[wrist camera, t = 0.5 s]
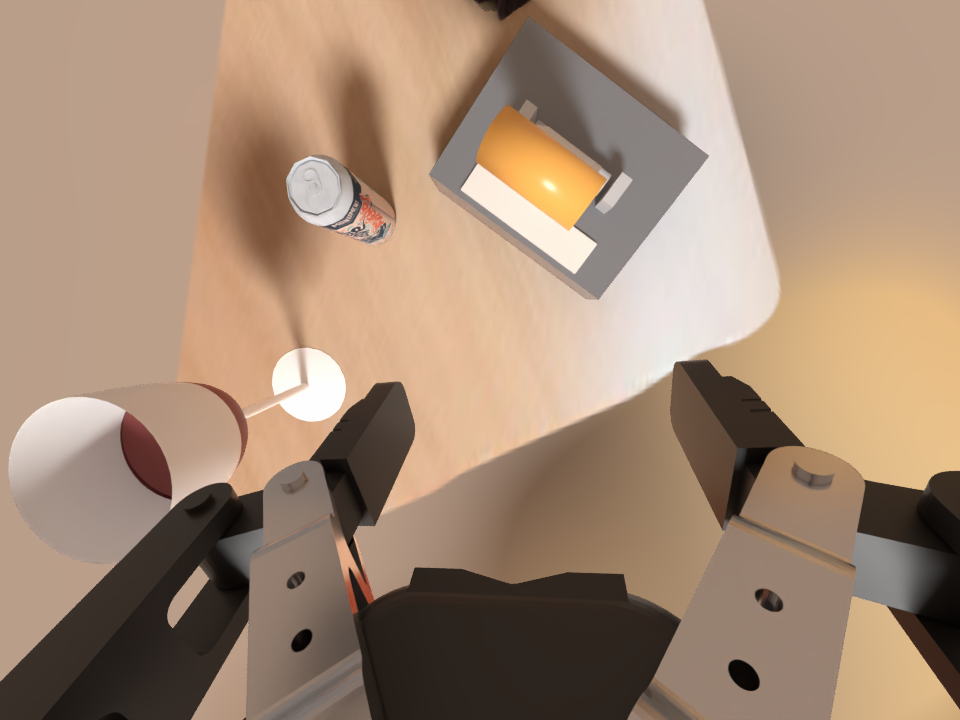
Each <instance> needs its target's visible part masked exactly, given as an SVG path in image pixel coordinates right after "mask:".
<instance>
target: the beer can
mask: <svg viewBox="0 0 960 720" xmlns="http://www.w3.org/2000/svg"><path fill="white" fill-rule="evenodd" d="M286 183H287V191H288V198H289V199H290V202H291V204H292V206H293V208H294V210H295V211H296V213H297V214H298V215H299V216H300V217H301V218H302V219H304V220H305V221H307V222H309V223H311V224H314V225H318V226H321V227H323V228H326V229H329V230H331V231H334V232H337V233H339V234H342V235H345V236H347V237H350V238H353V239H355V240H358V241H360V242H362V243H365V244H368V245H377V244H381V243H383V242H385V241H386V240H387V239H388V238H389V237H390V236H391V235H392V233H393V231H394V228H395V221H396V220H395V213H394V210H393V208H392V206H391V205H390V204H389V202H388V201H386V200H385V199H384V198H383V197H382V196H380V195H379V194H378V193H377V192H375V191H374V190H373V189H372V188H371V187H369V186H368V185H367V184H366V183H364V182H363V181H362V180H361V179H359V178H358V177H357V176H356V175H354V174H353V173H352V172H351V171H349V170H348V169H347V168H346V167H344V166H343V165H342V164H341V163H339V162H338V161H337V160H335V159H333V158H331V157H328V156H325V155H312V156H308V157H306V158H304V159H302V160H300V161H298V162H296V163H294V165H293V167H292V169H291V171H290V173H289V175H288V176H287V178H286Z"/></svg>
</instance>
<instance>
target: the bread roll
mask: <svg viewBox="0 0 960 720" xmlns="http://www.w3.org/2000/svg"><path fill="white" fill-rule="evenodd" d="M474 1H476V2H477V3H478V5H480V7H481V8H482V9H484V11H490V10H492V11H495V10H497V11H498V13H499V14H498V15H499V19H500V20H504V19H505V18H507V17H508V16H509V15H510V14H511V13H513V11H515V10H516V9H518V8H519V7H521V6H522V5H523V4H525V3H526V2H527V1H528V0H474Z"/></svg>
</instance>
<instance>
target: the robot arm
mask: <svg viewBox="0 0 960 720" xmlns="http://www.w3.org/2000/svg"><path fill="white" fill-rule="evenodd" d="M670 414H671V422H672V426H673V429H674V432H675V434H676V436H677V438H678V440H679V442H680V444H681V446H682V448H683V450H684V452H685V455H686V457H687V458H688V461H689V462H690V465H691V467H692V469H693V471H694V473H695V475H696V477H697V479H698V481H699V483H700V485H701V487H702V489H703V491H704V493H705V495H706V497H707V500H708V502H709V504H710V506H711V507H712V510H713V512H714V514H715V516H716V518H717V520H718V522H719V524H720V526H721V528H722V530H725V532H724V534H723V536H722V538H721V540H720V542H719V544H718V546H717V548H716V550H715V553H714V554H713V556H712V558H711V561H710V562H709V565H708V567H707V569H706V571H705V573H704V575H703V577H702V579H701V581H700V583H699V585H698V587H697V589H696V591H695V593H694V595H693V598H692V600H691V602H690V604H689V606H688V608H687V610H686V612H685V614H684V616H683V618H682V620H681V619H679V618H678V617H676V616H674V615H673V614H672V613H670V612H669V611H667V610H665V609H664V608H662V607H660V606H658V605H656V604H654V603H652V602H650V601H648V600H646V599H643V598H641V597H638V596H635V595H632V594H629V593H627V590H626V585H625V579H624V575H623V574H601V573H570V572H567V573H564V574H558V575H554V576H550V577H545V578H541V579H536V580H532V581H527V582H523V583H518V584H509V583H505V582H502V581H498V580H495V579H492V578H489V577H486V576H483V575H479V574H476V573H473V572H469V571H467V570H463V569H445V568H415V569H414V572H413V575H412V578H411V582H410V585H408V586H404V587H401V588H398V589H396V590H393V591H391V592H389V593H387V594H385V595H383V596H381V597H379V598H378V599H376V600H374V597H373V594H372V590H371V587H370V584H369V580H368V577H367V574H366V570H365V567H364V564H363V560H362V557H361V553H360V550H359V546H358V543H357V540H356V538H355V536H354V533H355V531H356V529H357V527H358V526H375V525H376V522H377V520H378V518H379V516H380V514H381V511H382V509H383V507H384V505H385V503H386V500H387V498H388V496H389V494H390V491H391V489H392V487H393V485H394V483H395V480H396V478H397V476H398V474H399V472H400V469H401V467H402V465H403V463H404V460H405V458H406V456H407V454H408V452H409V449H410V447H411V445H412V443H413V440H414V436H415V424H414V419H413V416H412V413H411V409H410V406H409V403H408V399H407V396H406V393H405V389H404V387H403V385H402V383H401V382H387V383H376V384H375V385H374V386H373V388H372V389H371V390H370V392H369V393H368V394H367V396H366V397H365V398H364V399H361V400H360V401H359V402H357V403H356V404H355V405H353V406H352V407H351V408H349V409H348V410H347V412H346V413H345V414H344V416H343V417H342V418H341V419H340V422H338V423H337V425H336V426H335V427H334V429H333V431H331V433H330V434H329V435H328V436H327V438H326V439H325V440H324V442H323V443H322V444H321V446H320V447H319V448H318V449H317V451H316V452H315V453H314V455H313V456H312V457H311V459H310V460H309V461H302V462H298V463H295V464H293V465H290V466H288V467H286V468H285V469H283V470H281V471H280V472H278V473H277V474H276V475H275V476H273V477H272V478H271V479H270V481H269V482H268V483H267V485H266V486H265V488H264V490H261V491H257V492H254V493H250V494H246V495H242V496H239V497H238V496H237V494H236V493H235V491H234V490H233V488H232V486H231V485H230V484H228V483H214V484H210V485H207V486H205V487H202V488H200V489H198V490H196V491H194V492H193V493H191V494H189V495H188V496H186V497H185V498H183V499H182V500H181V501H180V502H179V503H177V504H176V505H175V506H174V507H173V508H172V509H171V510H170V511H169V512H168V513H167V514H166V515H165V516H164V517H163V518H162V519H161V520H160V521H159V522H158V523H157V524H156V525H155V526H154V527H153V528H152V529H151V530H150V531H149V532H148V533H147V534H146V535H145V536H144V537H143V538H142V540H141V541H140V542H139V543H138V544H137V545H136V546H135V547H134V548H133V549H132V550H131V551H130V552H129V553H128V554H127V555H126V556H125V557H124V558H123V559H122V560H121V561H120V562H119V563H118V564H117V565H116V566H115V567H114V568H113V569H112V570H111V571H110V572H109V573H108V574H107V575H106V576H105V577H104V578H103V579H102V580H101V581H100V582H99V583H98V584H97V585H96V586H95V587H94V588H93V589H92V590H91V591H90V592H89V593H88V594H87V595H86V596H85V597H84V598H83V599H82V600H81V601H80V602H79V603H78V604H77V605H76V606H75V607H74V608H73V609H72V610H71V611H70V612H69V613H68V614H67V615H66V616H65V617H64V618H63V619H62V620H61V621H60V622H59V623H58V624H57V625H56V626H55V627H54V629H52V630H51V631H50V632H49V633H48V634H47V635H46V636H45V637H44V638H43V639H42V640H41V641H40V642H39V643H38V644H37V646H35V648H33V650H31V652H30V653H28V655H27V656H25V657H24V659H22V660H21V661H20V662H19V664H18V665H17V666H16V667H15V668H14V669H13V670H12V671H11V672H10V673H9V674H8V675H7V676H6V677H5V678H4V679H3V680H2V681H1V682H0V720H191V718H192V717H193V715H194V713H195V711H196V710H197V707H198V706H199V704H200V703H201V701H202V699H203V698H204V696H205V694H206V692H207V691H208V689H209V687H210V686H211V684H212V682H213V680H214V679H215V677H216V675H217V674H218V672H219V670H220V668H221V667H222V665H223V663H224V662H225V660H226V658H227V656H228V655H229V653H230V651H231V649H232V648H233V646H234V644H235V643H236V641H237V639H238V638H239V636H240V634H241V632H242V630H243V629H244V627H245V625H246V624H247V622H248V620H249V626H248V627H249V628H248V664H247V666H248V668H247V703H246V718H244V719H243V720H830V718H831V712H832V706H833V700H834V695H835V689H836V684H837V678H838V672H839V666H840V661H841V655H842V649H843V644H844V638H845V632H846V626H847V620H848V615H849V610H850V604H851V598H852V596H855V597H859V598H862V599H866V600H869V601H873V602H876V603H880V604H883V605H886V606H887V607H888V608H889V610H890V611H891V612H892V614H893V615H894V617H895V618H896V620H897V621H898V622H899V624H900V625H901V627H902V628H903V630H904V631H905V632H906V634H907V635H908V636H909V638H910V639H911V641H912V642H913V644H914V645H915V647H916V648H917V649H918V651H919V652H920V654H921V655H922V656H923V658H924V659H925V661H926V662H927V664H928V665H929V666H930V668H931V669H932V671H933V672H934V673H935V675H936V676H937V678H938V679H939V681H940V682H941V683H942V685H943V686H944V687H945V689H946V690H947V692H948V693H949V695H950V696H951V698H952V699H953V701H954V702H955V703H956V705H957V706H958V707H959V709H960V471H948V472H941V473H938V474H936V475H934V476H933V477H931V479H930V480H929V482H928V485H927V487H926V488H925V490H924V491H923V490H917V489H911V488H906V487H900V486H894V485H889V484H883V483H877V482H872V481H867V480H864V479H863V477H862V476H861V474H860V473H859V472H858V471H857V470H856V469H855V468H854V467H852V466H851V465H850V464H849V463H847V462H845V461H844V460H842V459H840V458H838V457H836V456H834V455H832V454H829V453H827V452H824V451H821V450H817V449H813V448H808V447H805V446H804V445H803V444H802V442H800V440H799V439H798V438H797V437H796V436H795V435H794V434H793V433H792V431H790V429H789V428H788V427H787V426H786V425H785V424H784V423H783V422H782V421H781V419H780V418H779V417H778V416H777V415H776V414H775V413H774V412H771V409H770V408H769V407H768V405H767V404H766V403H765V402H764V401H761V398H760V397H759V396H758V394H757V393H756V392H755V391H754V390H753V389H752V388H751V387H750V386H749V385H747V384H745V383H743V382H741V381H739V380H737V379H736V378H734V377H732V376H727V377H722V376H721V375H720V374H719V373H718V371H717V370H716V369H715V368H714V367H713V365H712V364H711V363H710V362H709V361H708V360H693V361H680V362H676V363H675V364H674V368H673V380H672V394H671V407H670ZM198 566H200V567H201V568H202V570H203V571H204V572H205V573H206V575H207V576H208V577H209V580H208V582H207V583H206V584H205V586H204V587H203V588H202V590H201V591H200V593H199V594H198V595H197V597H196V598H195V599H194V601H193V602H192V603H191V605H190V606H189V607H188V609H187V610H186V611H185V613H184V614H183V616H182V617H181V618H180V620H179V621H178V622H177V624H176V625H175V626H174V628H172V627H171V626H170V625H169V623H168V620H167V613H168V608H169V606H170V603H171V601H172V599H173V598H174V596H175V595H176V594H177V592H178V591H179V590H180V589H181V587H182V586H183V585H184V584H185V582H186V581H187V580H188V578H189V577H190V576H191V575H192V573H193V572H194V571H195V570H196V568H197V567H198Z"/></svg>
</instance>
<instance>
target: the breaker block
mask: <svg viewBox="0 0 960 720" xmlns="http://www.w3.org/2000/svg"><path fill="white" fill-rule="evenodd" d="M507 105H510V106H511V107H513V108H514V109H515V110H517V111H518V112H519V113H521V114H522V115H523V116H525V117H526V118H527V119H528V120H530V121H531V122H532V123H534V124H535V123H536V122H537V121H538V120H540V121H541V122H542V123H544V124H545V125H546V126H549V127H550V128H551V129H553V130H554V131H555V132H557V133H558V134H559V135H561V136H562V137H563V138H565V139H566V140H567V141H569V142H570V143H571V144H573V145H574V146H575V147H576V148H578V149H579V150H580V151H582V152H583V153H584V154H586V155H587V156H588V157H590V158H591V159H592V160H594V161H595V162H596V163H598V164H599V165H600V166H602V168H603V169H604V170H606V171H607V172H608V173H610V174H611V175H612V176H611V177H610V179H609V180H608V181H607V183H606V184H605V185H604V187H603V188H602V189H601V191H600V192H599V193H598V195H597V196H595V198H594V199H593V200H592V202H591V203H590V204H589V206H588V207H587V208H586V210H585V211H584V212H583V214H582V215H581V216H580V218H579V219H578V220H577V222H576V223H575V224H574V226H573V227H572V228H571V229H570V230H569V231H568V230H566V229H565V228H564V227H562V226H561V225H560V224H558V223H557V222H556V221H554V220H553V219H552V218H550V217H549V216H547V215H546V214H545V213H543V212H542V211H541V210H539V209H538V208H537V207H535V206H534V205H533V204H531V203H530V202H529V201H527V200H526V199H525V198H523V197H522V196H521V195H519V194H518V193H517V192H515V191H514V190H513V189H511V188H510V187H509V186H507V185H506V184H505V183H503V182H502V181H500V180H499V179H498V178H496V177H495V176H494V175H492V174H491V173H490V172H488V171H487V170H486V169H484V168H483V167H482V166H480V165H479V164H478V163H477V162H476V156H477V152H478V149H479V147H480V144H481V142H482V140H483V138H484V135H485V134H486V132H487V130H488V128H489V126H490V125H491V123H492V122H493V120H494V119H495V117H496V116H497V115H498V113H499V112H500V111H501V110H502V109H503V108H504V107H505V106H507ZM708 157H709V155H707V154H706V153H705V152H703V151H702V150H701V149H699V148H698V147H697V146H696V145H694V144H693V143H692V142H690V141H689V140H688V139H687V138H685V137H684V136H683V135H681V134H680V133H679V132H677V131H676V130H675V129H674V128H672V127H671V126H670V125H668V124H667V123H666V122H664V121H663V120H662V119H661V118H659V117H658V116H657V115H655V114H654V113H653V112H652V111H650V110H649V109H648V108H646V107H645V106H644V105H642V104H641V103H640V102H639V101H637V100H636V99H635V98H633V97H632V96H631V95H629V94H628V93H627V92H626V91H624V90H623V89H622V88H620V87H619V86H618V85H616V84H615V83H614V82H613V81H611V80H610V79H609V78H607V77H606V76H605V75H604V74H602V73H601V72H600V71H598V70H597V69H596V68H594V67H593V66H592V65H591V64H589V63H588V62H587V61H585V60H584V59H583V58H581V57H580V56H579V55H578V54H576V53H575V52H574V51H572V50H571V49H570V48H568V47H567V46H566V45H565V44H563V43H562V42H561V41H559V40H558V39H557V38H556V37H554V36H553V35H552V34H550V33H549V32H548V31H546V30H545V29H544V28H543V27H541V26H540V25H539V24H537V23H536V22H535V21H533V20H532V19H531V18H530V17H528V18H527V20H526V21H525V23H524V24H523V26H522V28H521V29H520V31H519V32H518V34H517V36H516V37H515V39H514V40H513V42H512V43H511V45H510V47H509V48H508V50H507V51H506V53H505V55H504V56H503V58H502V59H501V61H500V62H499V64H498V66H497V67H496V69H495V70H494V72H493V74H492V75H491V77H490V78H489V80H488V82H487V83H486V85H485V86H484V88H483V89H482V91H481V93H480V94H479V96H478V97H477V99H476V101H475V102H474V104H473V105H472V107H471V108H470V110H469V112H468V113H467V115H466V116H465V118H464V120H463V121H462V123H461V124H460V126H459V127H458V129H457V131H456V132H455V134H454V135H453V137H452V139H451V140H450V142H449V143H448V145H447V146H446V148H445V150H444V151H443V153H442V154H441V156H440V158H439V159H438V161H437V162H436V164H435V165H434V167H433V169H432V170H431V172H430V173H429V175H430V177H431V179H432V180H433V182H434V183H435V185H436V186H437V188H438V190H439V191H440V192H442V193H443V194H444V195H446V196H447V197H448V198H450V199H451V200H452V201H454V202H455V203H457V204H458V205H459V206H461V207H462V208H463V209H465V210H466V211H467V212H469V213H470V214H471V215H473V216H474V217H476V218H477V219H478V220H480V221H481V222H482V223H484V224H485V225H486V226H488V227H489V228H490V229H492V230H493V231H495V232H496V233H497V234H499V235H500V236H501V237H503V238H504V239H505V240H507V241H508V242H509V243H511V244H512V245H514V246H515V247H516V248H518V249H519V250H520V251H522V252H523V253H524V254H526V255H527V256H528V257H530V258H531V259H533V260H534V261H535V262H537V263H538V264H539V265H541V266H542V267H543V268H545V269H546V270H547V271H549V272H550V273H552V274H553V275H554V276H556V277H557V278H558V279H560V280H561V281H562V282H564V283H565V284H566V285H568V286H569V287H571V288H572V289H573V290H575V291H576V292H577V293H579V294H580V295H581V296H583V297H584V298H585V299H596V300H599V298H600V297H601V296H602V294H603V293H604V292H605V290H606V289H607V288H608V287H609V285H610V284H611V283H612V281H613V280H614V279H615V278H616V276H617V275H618V274H619V272H620V271H621V270H622V268H623V267H624V266H625V265H626V263H627V262H628V261H629V259H630V258H631V257H632V255H633V254H634V253H635V252H636V250H637V249H638V248H639V246H640V245H641V244H642V242H643V241H644V240H645V239H646V237H647V236H648V235H649V233H650V232H651V231H652V230H653V228H654V227H655V226H656V224H657V223H658V222H659V220H660V219H661V218H662V217H663V215H664V214H665V213H666V211H667V210H668V209H669V207H670V206H671V205H672V204H673V202H674V201H675V200H676V198H677V197H678V196H679V194H680V193H681V192H682V191H683V189H684V188H685V187H686V185H687V184H688V183H689V181H690V180H691V179H692V178H693V176H694V175H695V174H696V172H697V171H698V170H699V169H700V167H701V166H702V165H703V163H704V162H705V161H706V159H707V158H708Z"/></svg>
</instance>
